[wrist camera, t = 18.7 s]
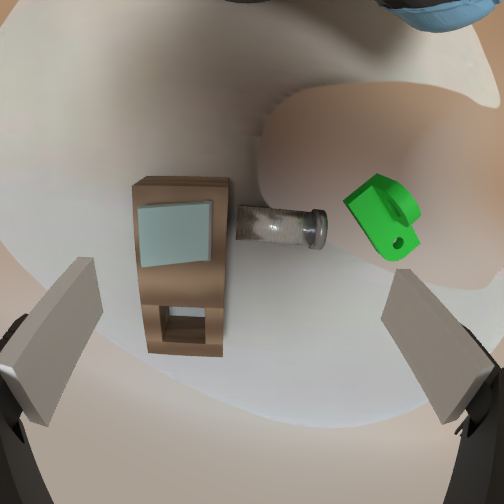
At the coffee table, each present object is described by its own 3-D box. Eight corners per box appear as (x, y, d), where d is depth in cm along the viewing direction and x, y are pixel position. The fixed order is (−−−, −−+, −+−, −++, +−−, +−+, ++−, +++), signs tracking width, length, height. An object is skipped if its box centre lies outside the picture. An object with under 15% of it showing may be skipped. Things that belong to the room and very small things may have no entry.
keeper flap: (211, 199, 31) (137, 204, 28) (214, 201, 30) (137, 206, 27) (209, 257, 33) (140, 265, 30) (212, 261, 33) (141, 269, 30)
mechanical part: (342, 200, 38) (367, 219, 31) (376, 173, 37) (407, 186, 30) (383, 263, 43) (409, 290, 35) (413, 238, 41) (443, 260, 34)
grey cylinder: (237, 212, 33) (330, 221, 34) (239, 196, 37) (321, 203, 38) (234, 251, 36) (321, 257, 36) (236, 230, 40) (314, 237, 40)
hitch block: (146, 176, 35) (132, 185, 30) (228, 177, 36) (228, 187, 31) (156, 326, 44) (148, 352, 38) (222, 329, 45) (222, 357, 39)
